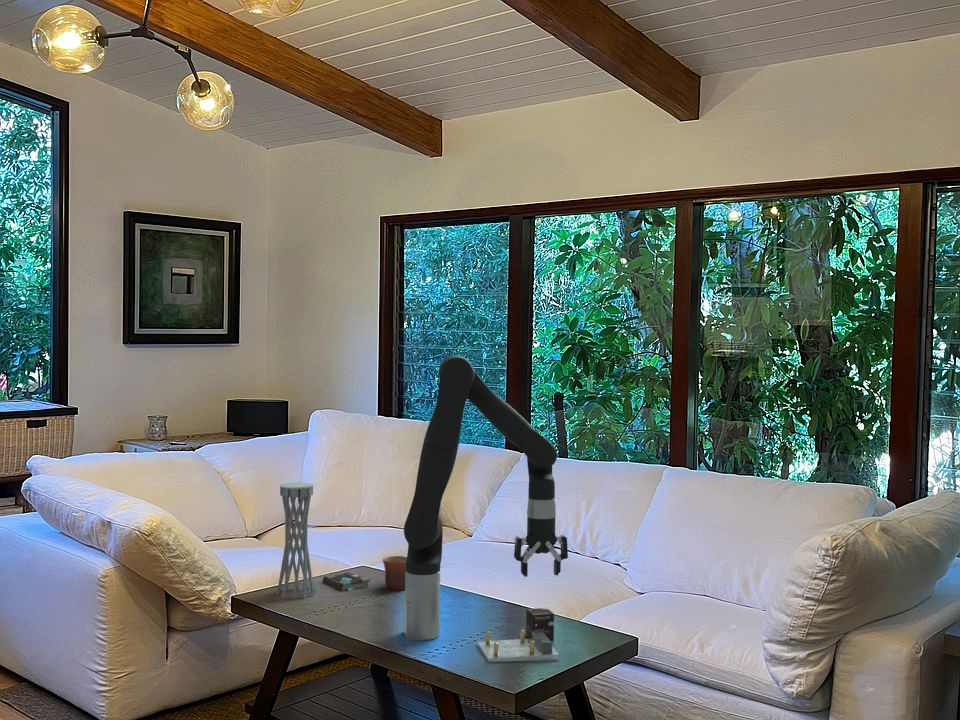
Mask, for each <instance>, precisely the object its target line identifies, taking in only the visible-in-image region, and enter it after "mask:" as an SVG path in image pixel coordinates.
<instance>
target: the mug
mask: <svg viewBox="0 0 960 720" xmlns="http://www.w3.org/2000/svg"><path fill="white" fill-rule="evenodd" d="M406 559H407V556H403V555H390V556H386V557H383V558H382V564H383V567H384V576H383V577H384V578H383V580H384V581H383V582H384V583H383V585H384V589H385V590H387V591H392V592H403V591H405V566H406Z"/></svg>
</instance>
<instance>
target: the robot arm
mask: <svg viewBox="0 0 960 720" xmlns="http://www.w3.org/2000/svg"><path fill="white" fill-rule="evenodd" d="M436 396H437V397H436V401H435V402H436V403H435V407H434V410H433V413H432V416H431V419H430V420H429V424H428V426H427V428H426V430H425V431H426V432H425V435H424V438H423V439H424V440H423V443H422V447H421V452H420V456H419V457H420V458H419V462H418V468H417V473H416V481H415V482H416V483H415V489H414V494H413V497H412V498H413V499H412V501H411V505H410V507H409V510H408V514H407V517H406V520H405V522H404V526H403V534H404V539H405V540H406V542H407V543H408V544H407V545H408V546H407V547H408V548H407V554H406V555H407V556H406V557H407V559H406V566H405V590H404V591H405V593H404V597H403V634H404V638H406V640H414V641H428V640H434V639H437V638H439V637H440V629H441V625H440V624H441V623H440V622H441V621H440V619H441V618H440V615H441V614H440V613H441V603H440V602H441V562H442V558H443V557H442V556H443V531H444V530H443V522H442V519H441V517H440V511H441V503H442V500H443V496H444V493H445V491H446V488H447V487H448V485H449V481H450V479H451V476H452V473H453V470H454V467H455V464H456V459H457V455H458V450H459V445H460V438H461V432H462V422H463V414H464V409H465V406H466V403H467V400H468V401H469V402H470V403H471V404H472V405H473V406H474V407H475V408H476V409H477V410H478V411H479V412H480V413H481V414H482V415H483V416H484V417H485V419H487V420H488V422H489V423H490V424H491V425H492V426H493V427H494V428H495V429H496V430H497V431H498V432H499V433H500V434H501V435H502V436H503V437H504V438H505V439H506V440H508V442H510V443H512V444H513V445H514V446H515V447H517V448H518V449H519V451H521V453H522V454H524V455H525V456H526V461H527V462H526V463H527V464H526V465H527V472H528V494H527V495H528V500H527V508H526V514H527V515H526V516H527V517H526V519H527V520H526V521H527V522H526V526H527V527H526V536H525V537H519V536H515V538H514V550H513V558H514V559H515V560H516V561H517V562H518V561H519V562H520V573H521V574H522V576H523V577H524V578H527V577H528V571H529V570H528V569H529V567H528V566H529V565H528V561H529V559H530V558H532V557H533V555H534V554H536V555H538V554H540V555H541V554H549V553H550V555H551V556H552V557H553V558H554V560H553V575H554V576H559V574H560V573H561V569H562V568H561V565H562V561H563V560H567V559H568V558H569V555H568V554H569V553H568V538H567V536H566V535H564V534H561V535H559V536H558V535H557V536H556V510H557V509H556V498H555V497H556V485H555V484H556V483H555V479H554V476H553V465H555V463H556V462H557V459H558V453H557V449H556V447H555V446H554V444H552V442H551V441H549V440H548V439H547V438H546V437H544V436H543V435H542V434H541V433H540V432H539V431H537V430H536V429H535V428H534V427H533V426H532V425H531V424H530V423H529V422H528V420H526V418H524V417H523V416H522V415H521V414H520V413H519V412H518V411H517V410H516V409H514V408H513V407H512V406H511V405H510V404H509V403H507V402H506V401H505V400H503V398H501V397H500V396H499V395H498V394H497V393H495V392H494V390H492V389H491V388H490V386H488V385H487V383H485V381H483V379H482V378H481V377H480V376H479V374H478V373H477V372H476V370H475V369H474V366H473V364H472V363H471V362H470V360H469V359H467V358H466V357H464V356H462V355H459V354H453V355H449V356H446V357H445V358H443V360H442V361H441V363H440V365H439V366H438V389H437V395H436ZM556 543H558V544H559V545H560V554H558V552H557V550H556V549H555V548H554V546H555V545H556ZM525 544H526V545H527V547H526V549H525V550H524V552H523V554H522V547H523V546H524V545H525Z"/></svg>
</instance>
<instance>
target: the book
mask: <svg viewBox="0 0 960 720" xmlns="http://www.w3.org/2000/svg"><path fill="white" fill-rule="evenodd" d="M321 582H322V583H323V584H324V585H327V586H329V587H331V588H333V589H335V590H338V591H340V592H344V591H347V592H350V591H354V590H356V589H364V588H368V587H369V583H370V582H371V579H370V578H369V577H364V576H360V575H358V574H356V573H354V572H353V571H350V570H349V571H345V572H343V573H340V574H332V573H331V574H326V575H323V578H322V581H321Z"/></svg>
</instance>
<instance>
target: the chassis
mask: <svg viewBox="0 0 960 720" xmlns="http://www.w3.org/2000/svg"><path fill="white" fill-rule="evenodd" d="M491 634H492V633H491V631H490V630H488V631H487V630H486V631H485V640H483V641H477V643H476V644H477V647H478V648H479V650H480V652H481V653H482V655H483V656H484V658H485V659H486V661H487V662H488V663H508V662H538V661H539V662H541V661H559V660H560V657H559V656H560V654H559V652H558V651H557V650H556V649H555V648H554V647H553V641H550V640H549V638H548V637H547V636H546V635H545V634H544V633H543V632H542V631H541V630H540V631H532V639H529V638H526V629H520V635H519V636H520V639H519V638H518V639H501V640H499V639H498V640H491Z"/></svg>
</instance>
